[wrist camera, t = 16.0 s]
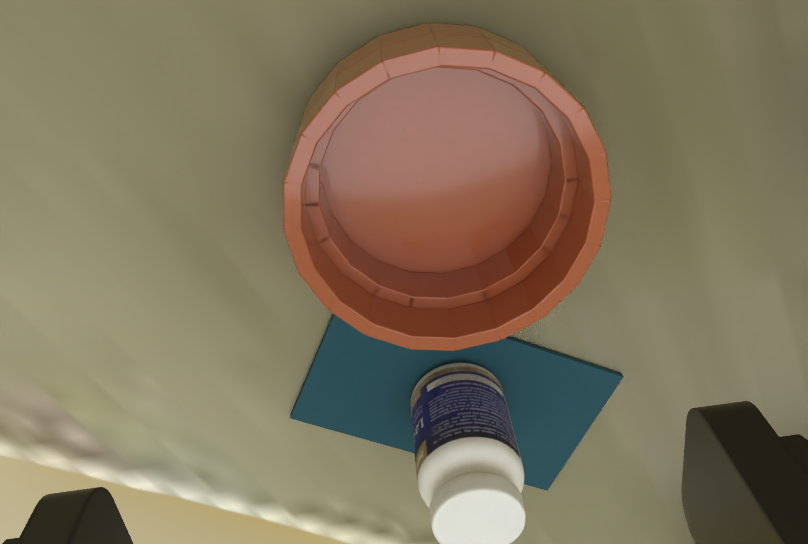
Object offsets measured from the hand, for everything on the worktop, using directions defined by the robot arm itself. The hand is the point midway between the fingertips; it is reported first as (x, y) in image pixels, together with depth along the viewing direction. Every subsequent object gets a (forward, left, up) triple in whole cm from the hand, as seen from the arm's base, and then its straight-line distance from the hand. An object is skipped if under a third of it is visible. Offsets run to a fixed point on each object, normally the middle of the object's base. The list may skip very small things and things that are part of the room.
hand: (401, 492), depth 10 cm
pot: (+5, -4, -28) cm, 29 cm away
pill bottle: (+12, -17, -28) cm, 35 cm away
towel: (+12, -17, -28) cm, 35 cm away
